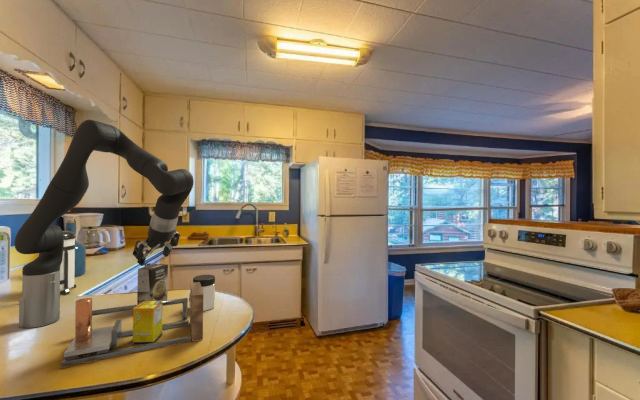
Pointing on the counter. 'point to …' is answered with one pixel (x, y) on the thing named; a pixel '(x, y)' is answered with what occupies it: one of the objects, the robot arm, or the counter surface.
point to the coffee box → (152, 283)
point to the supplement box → (147, 322)
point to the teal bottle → (77, 251)
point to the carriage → (91, 333)
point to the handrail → (128, 308)
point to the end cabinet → (196, 311)
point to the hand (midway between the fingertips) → (153, 259)
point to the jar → (207, 290)
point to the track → (95, 356)
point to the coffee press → (67, 263)
